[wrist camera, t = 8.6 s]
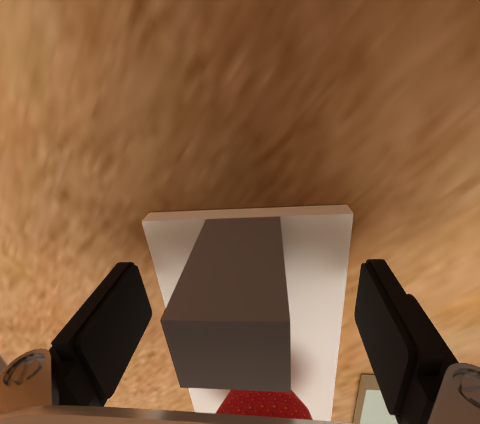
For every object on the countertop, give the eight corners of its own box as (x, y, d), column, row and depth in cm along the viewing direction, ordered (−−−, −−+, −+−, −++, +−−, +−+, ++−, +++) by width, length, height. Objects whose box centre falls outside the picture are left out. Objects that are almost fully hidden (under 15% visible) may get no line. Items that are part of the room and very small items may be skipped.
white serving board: (149, 212, 14) (52, 318, 8) (347, 204, 13) (426, 323, 6) (204, 422, 22) (180, 554, 16) (325, 430, 21) (350, 575, 15)
